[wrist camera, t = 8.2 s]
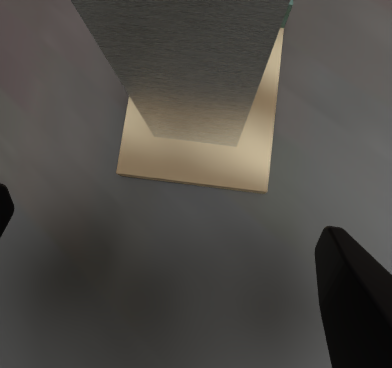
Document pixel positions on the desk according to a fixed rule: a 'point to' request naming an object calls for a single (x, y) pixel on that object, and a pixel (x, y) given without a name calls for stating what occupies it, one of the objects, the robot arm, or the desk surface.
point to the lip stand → (209, 153)
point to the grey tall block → (188, 60)
